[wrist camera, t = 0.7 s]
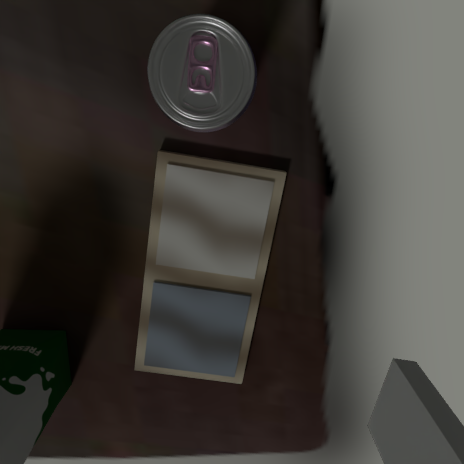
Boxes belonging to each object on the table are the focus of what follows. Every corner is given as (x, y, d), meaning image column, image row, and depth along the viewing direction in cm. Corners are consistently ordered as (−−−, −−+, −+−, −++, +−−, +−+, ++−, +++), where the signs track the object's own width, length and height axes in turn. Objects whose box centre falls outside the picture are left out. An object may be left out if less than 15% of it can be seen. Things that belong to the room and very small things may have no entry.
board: (160, 149, 35) (157, 151, 34) (284, 170, 36) (287, 173, 35) (136, 363, 42) (133, 371, 41) (241, 376, 43) (241, 385, 42)
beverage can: (248, 58, 33) (265, 16, 19) (241, 127, 35) (251, 138, 20) (180, 50, 33) (145, 2, 18) (176, 121, 35) (141, 127, 20)
